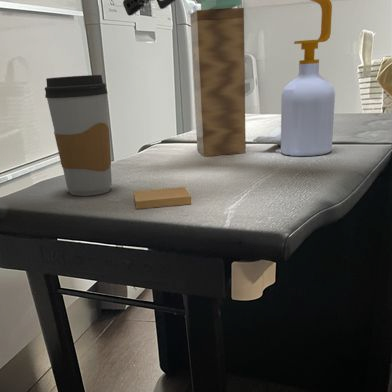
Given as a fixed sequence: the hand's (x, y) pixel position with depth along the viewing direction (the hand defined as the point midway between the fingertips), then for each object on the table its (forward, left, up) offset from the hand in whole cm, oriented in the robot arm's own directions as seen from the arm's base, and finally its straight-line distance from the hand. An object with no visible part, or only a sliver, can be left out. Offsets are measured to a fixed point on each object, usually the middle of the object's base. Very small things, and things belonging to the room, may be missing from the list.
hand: (143, 5), depth 88 cm
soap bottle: (+27, -3, -24) cm, 36 cm away
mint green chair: (+13, +2, -1) cm, 13 cm away
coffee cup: (-12, -21, -24) cm, 34 cm away
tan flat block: (-2, -31, -24) cm, 39 cm away
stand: (+13, +6, -24) cm, 28 cm away
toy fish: (+26, +8, -24) cm, 36 cm away
